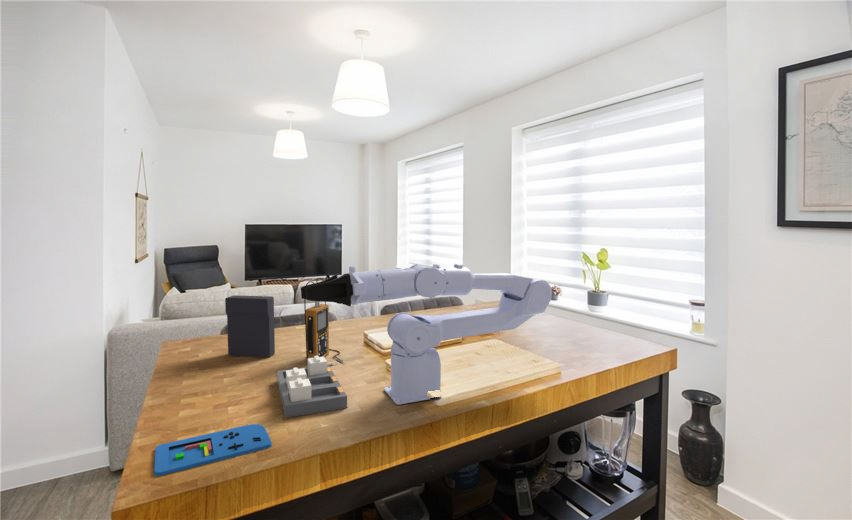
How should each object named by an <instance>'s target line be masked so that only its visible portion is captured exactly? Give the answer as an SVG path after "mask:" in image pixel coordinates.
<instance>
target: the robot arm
mask: <svg viewBox="0 0 852 520" xmlns="http://www.w3.org/2000/svg"><path fill="white" fill-rule="evenodd" d="M348 270H349V272H348V273H346V272H345V273H343V274H342V275H340V276H338V274H334V275H332V276H330V277H329V278H326V279H325V280H324V279H323V280H324V281H323V280H321V281H317V282H318V283H317V282H314V284H313V283H311V284H307V285H304V286H303V285H302V286H301V287H300V296H301V299H302V300H304V299H305V300H306V301H309V302H310V301H311V302H315V301H319V302H324V303H325V302H326V303H328V302H330V303H336V304H337V305H338V304H339V305H340V304H341V305H344V306H348V307H351V306H357V305H358V304H365V303H372V302H374V303H375V302H380V301H390V300H398V299H404V298H409V297H416V296H421V297H424V298H429V299H433V298H435V297H437V296H467V295H469V294H470V292H471V291H472V290H487V291H490V290H491V291H492V290H493V291H499V292H500V293H501V297H500V300H499V303H498V306H497V307H490V308H484V309H483V308H482V309H477V310H469V311H460V312H453V313H446V314H438V315H428V314H427V315H425V314H415V315H414V314H411V313H408V312H398V313H396V314H394V315H392V317H391V318H390V319H389V321H388V322H387V328H386V329H387V335H388V337H389V338H390V339H391V340H392V344H391V347H390V385H389V386H385V387H384V388H383V390H384V391H385V393H386V394H387V395H388V397H389V398H390V399H391V400H392V401H393V403H394V404H396V405H406V404H411V403H416V402H421V401H427V400H431V399H430V397H429V396H427V392H428V391H435V390H440V391H441V385H442V384H441V377H442V373H441V370H442V369H441V368H442V364H441V358H440V354H439V351H437V349H436V347H439V346H440V344H441V343H442V341H448V340H455V339H462V338H467V337H474V336H481V335H485V334H486V335H487V334H491V333H492V334H493V333H499V332H504V331H505V332H507V331H511V330H515V329H517V328H519V327H520V326H521V325H523V324H524V323H526V322H527V321H529V320H530V319H531V318H532V317H534V316H536V315H539V314H543V313H545V311H546V309H547V308H548V306H549V305H550V303H551V300H552V296H553V289H552V286H551V285H550V284H549V283H550V282H549V283H548V281H546V280H543V279H535V278H531V277H526V276H523V275H518V274H512V273H507V272H489V273H484V272H483V273H482V272H481V273H479V272H478V273H473V272H472V271H471V270H470V269H469V268H468V267H465V266H464V265H463V264H460V263H454V264H453V266H441V265H440V264H436V263H435V264H432V267H429V266H425V265H421V264H419V265H418V263H417V264H413V265H411V266H409V267H406V268H390V269H389V268H387V269H381V270H380V269H378V270H369V271H358V272H356V267H355V266H353V265H352V266H349V267H348Z"/></svg>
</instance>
